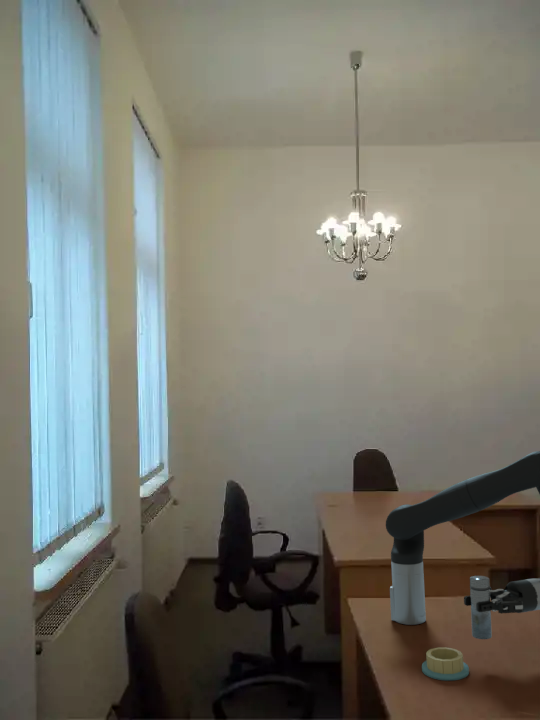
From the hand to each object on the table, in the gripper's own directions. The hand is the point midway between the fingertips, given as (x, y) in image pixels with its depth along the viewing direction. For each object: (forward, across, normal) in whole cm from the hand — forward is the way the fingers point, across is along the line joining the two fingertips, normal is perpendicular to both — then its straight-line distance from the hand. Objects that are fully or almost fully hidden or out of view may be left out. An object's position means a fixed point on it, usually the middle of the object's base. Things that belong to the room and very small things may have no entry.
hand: (471, 604), depth 172 cm
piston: (-3, 0, +8) cm, 8 cm away
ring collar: (+8, 0, +15) cm, 17 cm away
